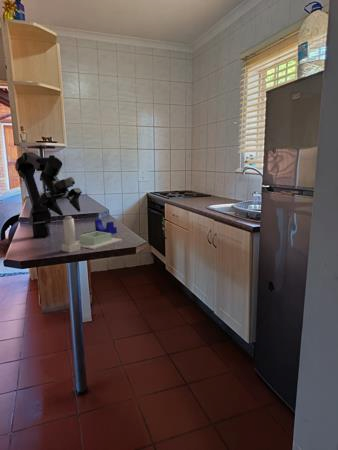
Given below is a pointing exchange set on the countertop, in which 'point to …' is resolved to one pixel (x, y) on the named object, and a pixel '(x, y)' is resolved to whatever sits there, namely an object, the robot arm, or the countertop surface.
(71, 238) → the connector plug
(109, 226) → the cable clip
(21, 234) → the countertop surface
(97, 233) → the end holder
